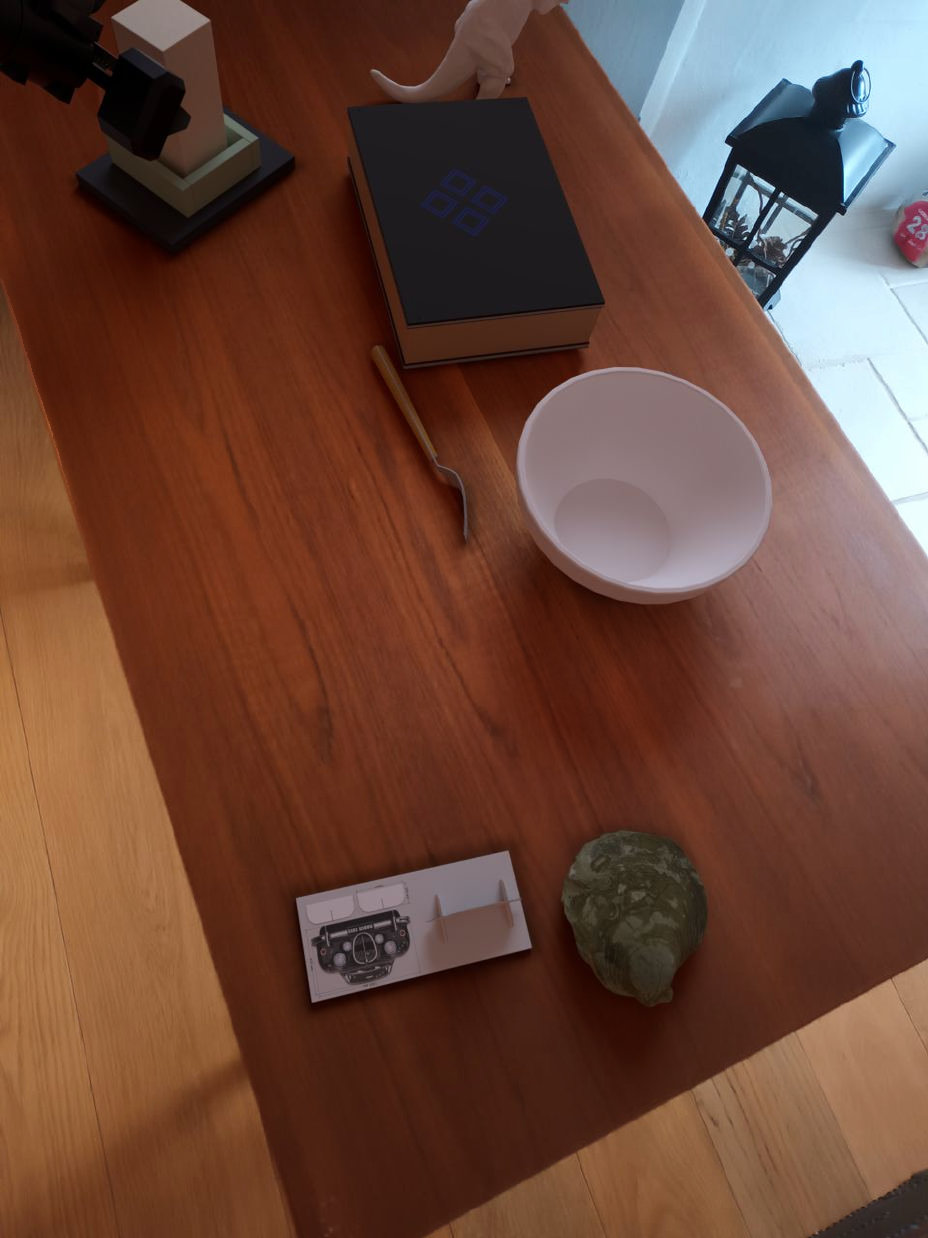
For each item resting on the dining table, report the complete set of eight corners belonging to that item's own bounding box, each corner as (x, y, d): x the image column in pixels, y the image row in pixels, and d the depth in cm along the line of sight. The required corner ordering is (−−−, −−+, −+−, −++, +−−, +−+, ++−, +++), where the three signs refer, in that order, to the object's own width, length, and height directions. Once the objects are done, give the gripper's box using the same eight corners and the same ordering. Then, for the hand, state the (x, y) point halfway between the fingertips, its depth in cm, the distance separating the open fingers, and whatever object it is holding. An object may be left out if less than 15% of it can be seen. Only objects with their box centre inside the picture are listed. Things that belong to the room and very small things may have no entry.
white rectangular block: (190, 195, 80) (162, 51, 67) (145, 165, 80) (110, 16, 68) (230, 165, 82) (210, 19, 69) (187, 135, 82) (159, -14, 70)
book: (514, 156, 89) (527, 95, 83) (586, 353, 80) (606, 301, 74) (346, 168, 85) (347, 105, 79) (402, 375, 76) (407, 323, 70)
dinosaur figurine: (539, 57, 95) (572, -96, 81) (569, 119, 92) (608, -30, 78) (361, 73, 90) (365, -87, 77) (386, 139, 87) (395, -16, 74)
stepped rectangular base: (174, 255, 78) (165, 217, 74) (78, 183, 80) (65, 143, 76) (295, 166, 84) (293, 127, 80) (204, 101, 86) (198, 60, 82)
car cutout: (507, 851, 62) (519, 841, 58) (530, 948, 60) (545, 945, 56) (296, 898, 59) (292, 892, 55) (312, 1002, 57) (309, 1004, 52)
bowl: (552, 674, 67) (583, 629, 59) (460, 467, 74) (476, 398, 65) (762, 601, 72) (820, 550, 64) (660, 413, 79) (700, 342, 70)
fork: (362, 344, 75) (463, 532, 69) (381, 335, 75) (484, 521, 69) (368, 361, 78) (466, 544, 71) (387, 352, 78) (486, 534, 71)
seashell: (685, 814, 63) (736, 909, 54) (692, 894, 66) (741, 997, 56) (546, 840, 63) (573, 940, 53) (559, 919, 66) (586, 1027, 56)
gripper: (138, -43, 54) (274, 52, 68) (-72, -188, 56) (102, -66, 70) (73, 133, 58) (214, 188, 72) (-119, -10, 60) (54, 71, 75)
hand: (147, 92), depth 72 cm, fingers open, 9 cm apart
